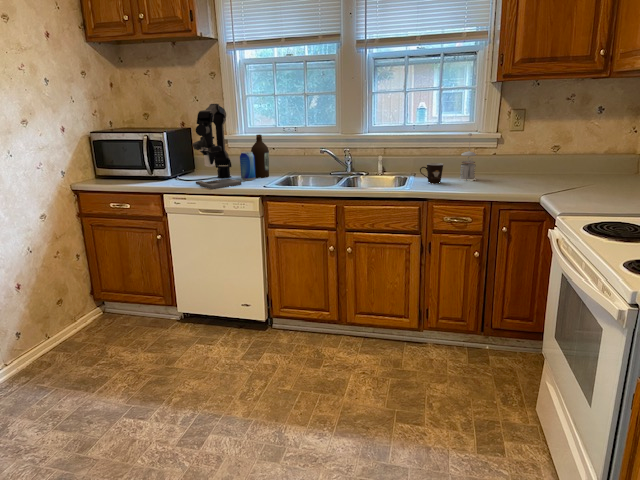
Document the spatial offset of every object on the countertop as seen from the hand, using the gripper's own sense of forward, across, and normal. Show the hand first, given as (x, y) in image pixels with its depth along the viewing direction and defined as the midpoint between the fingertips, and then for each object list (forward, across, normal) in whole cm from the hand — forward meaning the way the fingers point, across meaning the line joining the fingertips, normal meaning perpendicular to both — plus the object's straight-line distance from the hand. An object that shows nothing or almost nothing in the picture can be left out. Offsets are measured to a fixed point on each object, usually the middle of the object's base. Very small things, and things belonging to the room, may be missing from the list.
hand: (209, 164), depth 262 cm
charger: (+1, 0, 0) cm, 1 cm away
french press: (+12, +91, +108) cm, 142 cm away
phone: (+12, -9, -2) cm, 15 cm away
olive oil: (+12, -5, +36) cm, 38 cm away
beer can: (+12, -2, +25) cm, 28 cm away
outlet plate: (+12, +3, +4) cm, 13 cm away
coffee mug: (+12, +82, +88) cm, 121 cm away
